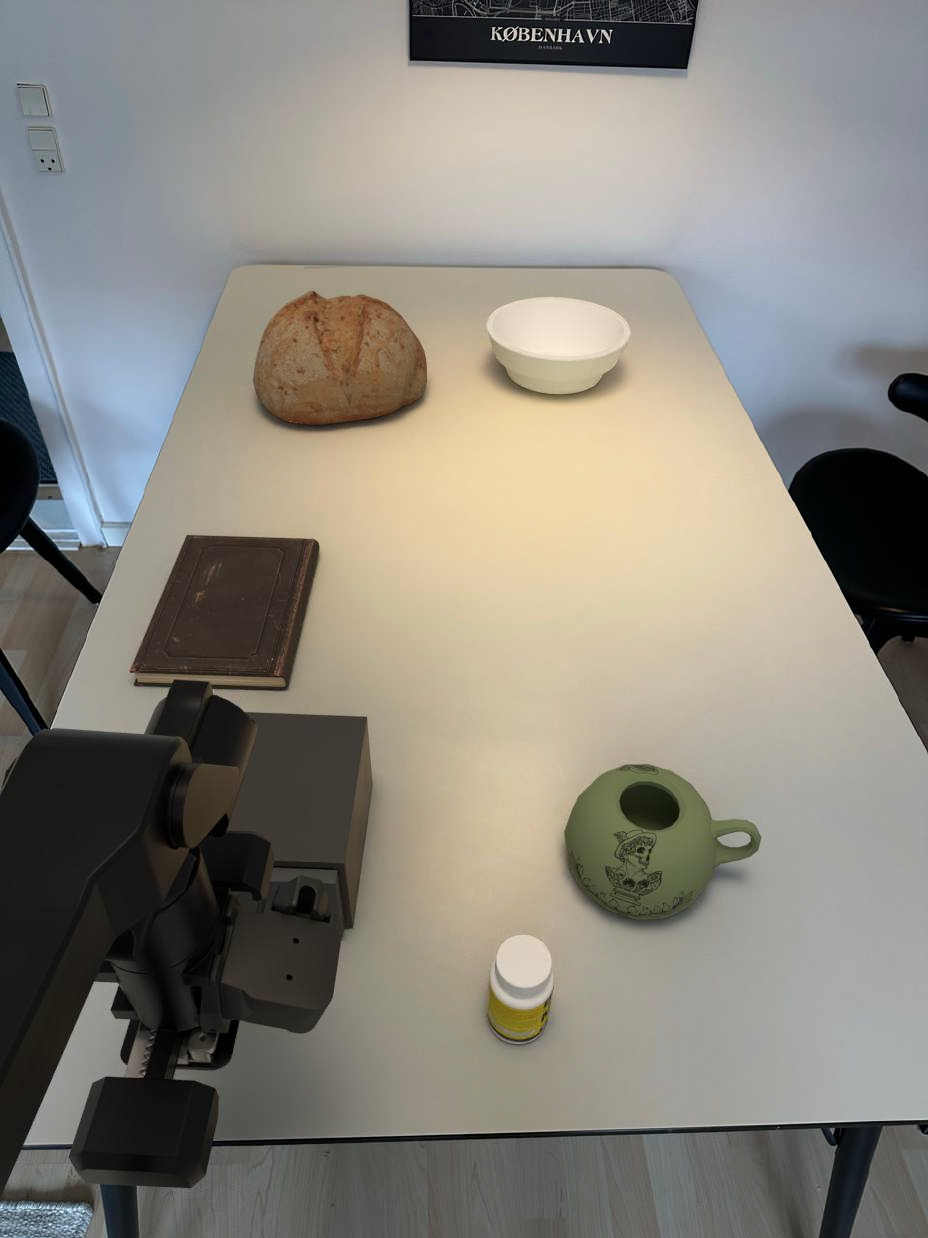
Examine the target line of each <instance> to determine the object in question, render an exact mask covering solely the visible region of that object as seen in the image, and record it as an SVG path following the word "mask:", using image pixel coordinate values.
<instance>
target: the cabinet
mask: <svg viewBox="0 0 928 1238" xmlns="http://www.w3.org/2000/svg"><path fill="white" fill-rule="evenodd" d="M244 712H245V713H246V714H248V716H249V717H250V719H252V720H254V721H255V723H256V726H257V738H256V741H255V744H254V747H253V751H252V754H251V757H250V760H249V763H248V766H247V769H246V773H245V776H244V779H243V782H242V785H241V788H240V791H239V795H238V798H237V801H236V804H235V807H234V810H233V814H232V817H231V820H230V823H229V826H228V828H227V830H232V831H254V832H256V833H258V834H259V835H261V836H263V837H265V838H266V839H267V840H268V841H269V842H270V843H271V845H272V849H273V854H274V858H275V861H274V866H289V867H313V868H335V870H338V877H339V884H340V891H341V898H342V906H343V913H344V920H345V926H344V929H353V928H354V924H355V917H356V911H357V902H358V895H359V888H360V881H361V873H362V867H363V866H362V865H363V859H364V852H365V844H366V837H367V828H368V822H369V815H370V806H371V800H372V792H373V786H374V785H373V784H374V783H373V771H372V760H371V759H372V758H371V748H370V747H371V745H370V735H369V724H368V716H362V715H361V716H359V715H358V716H357V715H337V714H312V713H311V714H309V713H308V714H307V713H281V712H258V711H257V712H256V711H244Z"/></svg>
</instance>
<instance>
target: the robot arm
mask: <svg viewBox="0 0 928 1238" xmlns="http://www.w3.org/2000/svg"><path fill="white" fill-rule="evenodd" d="M245 712H246V711H244V709H242V708H241V707H240V706H238V705H237V704H235V703H234V702H232V701H230V700H228V699H226V698H224V697H221V696H220V695H216V694H214V691H213V688H212V687H211V683H210V682H209V681H194V680H179V679H174V680H173V682H172V685H171V687H169V690H168V691H167V694H166V696H165V697H164V698H162V699H161V700H160V701H159V702H158V703H157V704H156V706H155V708H154V709H153V712H152V715H151V717H150V719H149V721H148V724H147V726H146V728H145V730H144V733H135V732H120V731H105V730H92V729H91V730H90V729H75V728H59V727H53V728H42V729H41V730H39V731H37V732H36V733H35V734H34V735H33V736H32V737H31V738H30V739H29V740H28V741H27V742H26V744H25V745H24V746H23V747H22V748H21V750H20V752H19V754H18V755H17V757H15V758H14V759H13V761H12V762H11V764H10V766H9V767H8V768H7V769H6V771H5V773H4V778H3V781H2V784H1V788H0V1199H1V1198H2V1195H3V1193H4V1191H5V1188H6V1186H7V1184H8V1182H9V1179H10V1177H11V1175H12V1173H13V1171H14V1168H15V1166H16V1163H17V1161H18V1159H19V1156H20V1154H21V1153H22V1149H23V1147H24V1145H25V1142H26V1140H27V1138H28V1136H29V1133H30V1131H31V1129H32V1126H33V1124H34V1121H35V1120H36V1117H37V1115H38V1112H39V1111H40V1108H41V1106H42V1103H43V1102H44V1099H45V1096H46V1094H47V1092H48V1090H49V1087H50V1085H51V1083H52V1080H53V1078H54V1076H55V1073H56V1071H57V1068H58V1067H59V1064H60V1062H61V1059H62V1057H63V1055H64V1053H65V1050H66V1048H67V1046H68V1043H69V1041H70V1040H71V1036H72V1034H73V1032H74V1029H75V1028H76V1025H77V1022H78V1020H79V1017H80V1016H81V1014H82V1011H83V1009H84V1007H85V1004H86V1002H87V999H88V997H89V996H90V993H91V990H92V988H93V986H94V984H95V983H113V984H118V985H117V989H116V992H115V995H114V998H113V1001H112V1004H111V1007H110V1012H111V1014H112V1016H113V1018H114V1019H115V1020H129V1022H128V1026H127V1029H126V1032H125V1035H124V1038H123V1042H122V1045H121V1049H120V1050H119V1051H120V1052H119V1057H120V1060H121V1061H122V1063H123V1064H124V1065H125V1066H126V1068H125V1072H124V1074H123V1076H110V1075H109V1076H108V1075H107V1076H104V1077H102V1078H99V1079H97V1080H95V1081H93V1082H92V1083H91V1086H90V1089H89V1092H88V1095H87V1097H86V1102H85V1105H84V1107H83V1111H82V1114H81V1117H80V1119H79V1123H78V1126H77V1128H76V1129H77V1130H76V1131H75V1135H74V1139H73V1141H72V1144H71V1148H70V1150H69V1154H68V1159H69V1161H70V1163H71V1165H72V1166H73V1168H74V1170H75V1172H76V1173H77V1174H78V1176H79V1177H80V1178H81V1179H82V1180H83V1181H84V1183H85V1184H87V1185H89V1184H90V1185H107V1186H108V1185H109V1186H111V1185H112V1186H127V1187H128V1186H129V1187H131V1186H132V1187H151V1188H152V1187H153V1188H174V1189H192V1188H194V1187H195V1186H196V1185H197V1184H198V1183H199V1182H200V1181H202V1180H203V1179H204V1178H205V1177H206V1176H207V1171H208V1166H209V1162H210V1158H211V1153H212V1149H213V1143H214V1139H215V1135H216V1130H217V1125H218V1120H219V1110H220V1109H219V1107H220V1095H219V1093H218V1090H217V1088H216V1087H213V1086H210V1085H208V1084H206V1083H203V1082H200V1081H198V1080H195V1079H177V1078H174V1077H175V1074H176V1070H180V1071H181V1070H183V1071H203V1072H205V1071H207V1072H212V1071H213V1072H215V1071H218V1070H221V1069H222V1068H225V1067H226V1066H227V1065H228V1064H229V1063H230V1062H231V1060H232V1057H233V1055H234V1054H233V1053H234V1050H235V1045H236V1040H237V1037H238V1033H239V1032H238V1031H239V1027H240V1022H244V1023H249V1024H253V1025H259V1026H265V1027H270V1028H274V1029H280V1030H284V1031H288V1032H289V1033H292V1034H299V1035H303V1034H307V1033H309V1032H311V1031H312V1030H313V1029H315V1027H316V1026H317V1024H318V1023H319V1021H320V1020H321V1018H322V1016H323V1015H324V1013H325V1012H326V1010H327V1009H328V1007H329V1005H330V1004H331V1003H332V1000H333V997H334V992H335V985H336V979H337V974H338V973H337V972H338V966H339V958H340V951H341V944H342V939H341V937H342V936H340V934H339V932H338V930H337V923H338V917H337V916H338V914H337V913H333V912H331V913H330V912H329V911H328V908H327V903H328V895H327V892H326V890H325V887H324V884H323V882H322V881H321V880H319V879H315V878H311V877H306V876H302V875H300V876H298V877H296V878H294V879H292V880H290V881H288V882H286V883H284V884H282V885H280V886H279V887H278V888H277V890H276V893H275V895H274V898H273V899H270V898H266V897H267V893H268V889H269V884H270V880H271V875H272V870H273V866H274V861H275V858H274V854H273V849H272V845H271V843H270V842H269V841H268V840H267V839H266V838H265V837H263V836H261V835H259V834H258V833H256V832H254V831H232V830H227V828H228V826H229V823H230V820H231V817H232V814H233V810H234V807H235V804H236V801H237V798H238V795H239V791H240V788H241V785H242V782H243V779H244V776H245V773H246V769H247V766H248V763H249V760H250V757H251V754H252V751H253V747H254V744H255V741H256V738H257V726H256V723H255V721H254V720H252V719H250V717H249V716H248V714H246V713H245ZM231 892H251V896H252V900H253V901H258V905H257V909H256V913H250V912H246V909H245V907H244V906H243V905H242V904H241V903H240V902H239V899H238V896H237V894H231ZM265 898H266V899H265Z"/></svg>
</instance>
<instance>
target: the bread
mask: <svg viewBox="0 0 928 1238" xmlns="http://www.w3.org/2000/svg"><path fill="white" fill-rule="evenodd" d="M427 382H428V365H427V357H426V352H425V348H424V347H423V345H422V343H421V341H420V340H419V338H418V336H417V335H416V333H415V332H414V331H413V329H412V328H411V327H410V325H409V323H407V321H406V319H405V318H404V317H403V316H402V314H401V313H399V312H398V311H397V310H396V309H395V308H394V307H392V306H391V305H390V304H389V303H387V302H385V301H383V300H381V299H379V298H374V297H372V296H369V295H367V294H363V293H360V294H357V295H354V296H351V295H340V296H336V297H331V298H325V297H323V296H322V295H320V294H319V293H317V292H316V291H315V290H309V291H308V292H306V293H303V294H302V295H300V296H298V297H296V298H294V299H293V300H291V301H289V302H287V303H286V304H284V305H283V306H282V307H281V308H279V310H278V311H277V312H276V313H275V314H274V315H273V316H272V317H271V318H270V320H269V321H268V323H267V325H266V327H265V329H264V330H263V333H262V336H261V338H260V342H259V345H258V349H257V352H256V358H255V362H254V368H253V376H252V383H253V387H254V391H255V394H256V396H257V398H258V399H259V400H260V402H261V403H262V405H263V406H264V407H265V408H266V409H267V410H268V411H269V412H270V413H272V415H274V416H276V418H278V417H280V418H279V419H281V418H282V419H281V420H283V421H286V422H287V423H288V422H289V423H290V424H299V425H308V426H309V425H310V426H319V425H320V426H321V425H329V423H330V424H331V425H332V424H339V423H346V422H352V421H359V420H368V419H373V418H377V417H381V416H382V417H383V416H386V415H390V414H391V413H393V412H395V411H397V410H398V409H400V408H402V407H404V406H407V405H410V404H412V403H414V402H415V401H417V400H418V399H419V398H420V397H421V396H422V395H423V394H424V392H425V389H426V387H427ZM290 421H291V422H290ZM296 422H297V423H296ZM303 423H305V424H303Z"/></svg>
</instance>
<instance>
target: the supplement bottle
mask: <svg viewBox="0 0 928 1238" xmlns="http://www.w3.org/2000/svg"><path fill="white" fill-rule="evenodd" d="M488 972H489V974H488V984H487V986H488V987H487V994H486V995H487V996H486V1009H485V1013H486V1019H487V1023H488V1025H489V1027H490V1028H491V1031H492V1033H494V1035H495V1036H497V1037H498V1038H499V1039H500V1040H502V1041H504V1042H506V1043H508V1044H513V1045H524V1044H528V1043H531V1042H533V1041H535V1040H536V1039H538V1038H539V1037H540V1036H541V1035H542V1033H543V1032H544V1030H545V1029H546V1026H547V1023H548V1021H549V1020H548V1019H549V1016H550V1015H549V1014H550V1009H551V1004H552V998H553V992H554V988H555V974H554V969H553V958H552V955H551V951H550V949H549V948H548V946H546V944H545V943H544V942H543V941H542V940H540V939H539V938H537V937H536V936H533V935H529V934H517V935H516V934H515V935H512V936H510V937H508V938H507V939H505V940H503V942H502V943H501V944H500V946H499V947H498V949H497V951H496V955H495V957H494V959H493V960H492V963H491V965H490V968H489V971H488Z"/></svg>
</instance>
